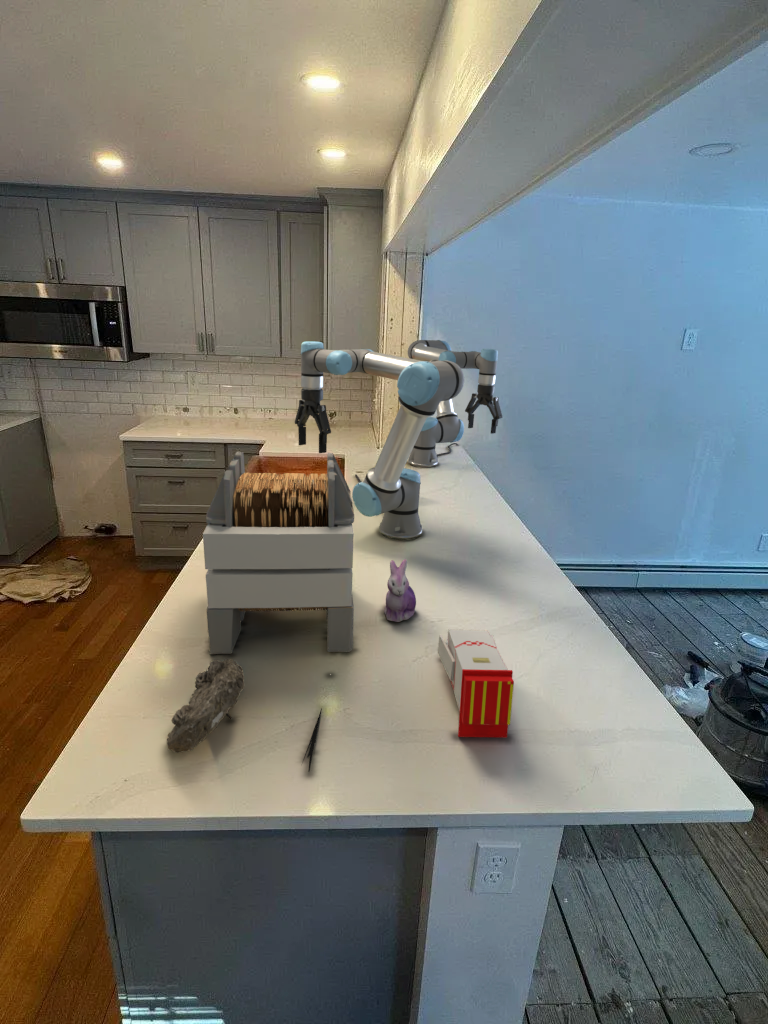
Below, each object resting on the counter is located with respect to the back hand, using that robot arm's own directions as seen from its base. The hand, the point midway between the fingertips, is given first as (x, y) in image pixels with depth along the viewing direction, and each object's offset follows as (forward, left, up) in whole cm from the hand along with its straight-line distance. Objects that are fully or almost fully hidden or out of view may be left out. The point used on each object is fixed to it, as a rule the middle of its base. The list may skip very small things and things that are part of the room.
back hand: (481, 430), depth 264 cm
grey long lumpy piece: (+185, -41, -23) cm, 191 cm away
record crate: (+147, -41, -23) cm, 154 cm away
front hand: (+77, -57, +4) cm, 96 cm away
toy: (+165, +7, -23) cm, 167 cm away
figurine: (+137, -13, -23) cm, 140 cm away
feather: (+181, -21, -23) cm, 184 cm away
